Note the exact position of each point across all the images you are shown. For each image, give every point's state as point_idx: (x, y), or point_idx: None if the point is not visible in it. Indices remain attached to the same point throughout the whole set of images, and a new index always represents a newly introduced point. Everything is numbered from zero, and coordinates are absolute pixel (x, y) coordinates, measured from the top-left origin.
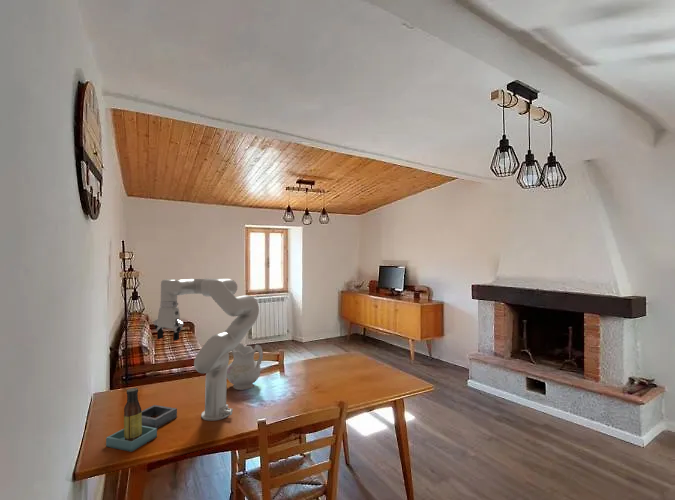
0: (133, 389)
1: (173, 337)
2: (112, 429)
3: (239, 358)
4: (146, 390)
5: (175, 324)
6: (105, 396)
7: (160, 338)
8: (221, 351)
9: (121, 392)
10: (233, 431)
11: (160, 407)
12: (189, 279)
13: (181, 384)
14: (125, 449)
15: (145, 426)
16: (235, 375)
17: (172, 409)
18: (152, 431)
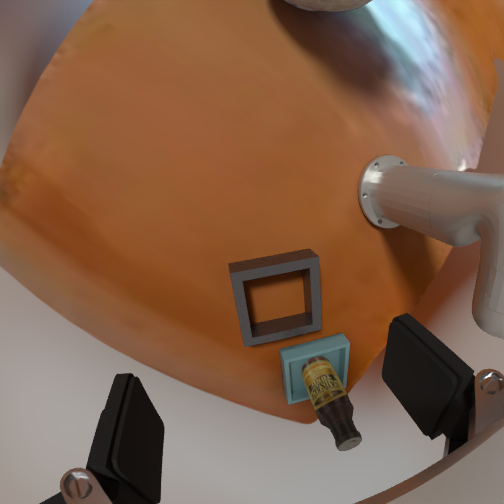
0: (352, 443)
1: (397, 398)
2: (224, 362)
3: None
4: (41, 158)
5: (487, 496)
6: (9, 255)
7: (152, 406)
8: None
9: (8, 213)
10: None
11: (266, 276)
12: None
13: (93, 55)
14: None
15: (320, 352)
16: (343, 5)
17: (311, 267)
18: (348, 351)
